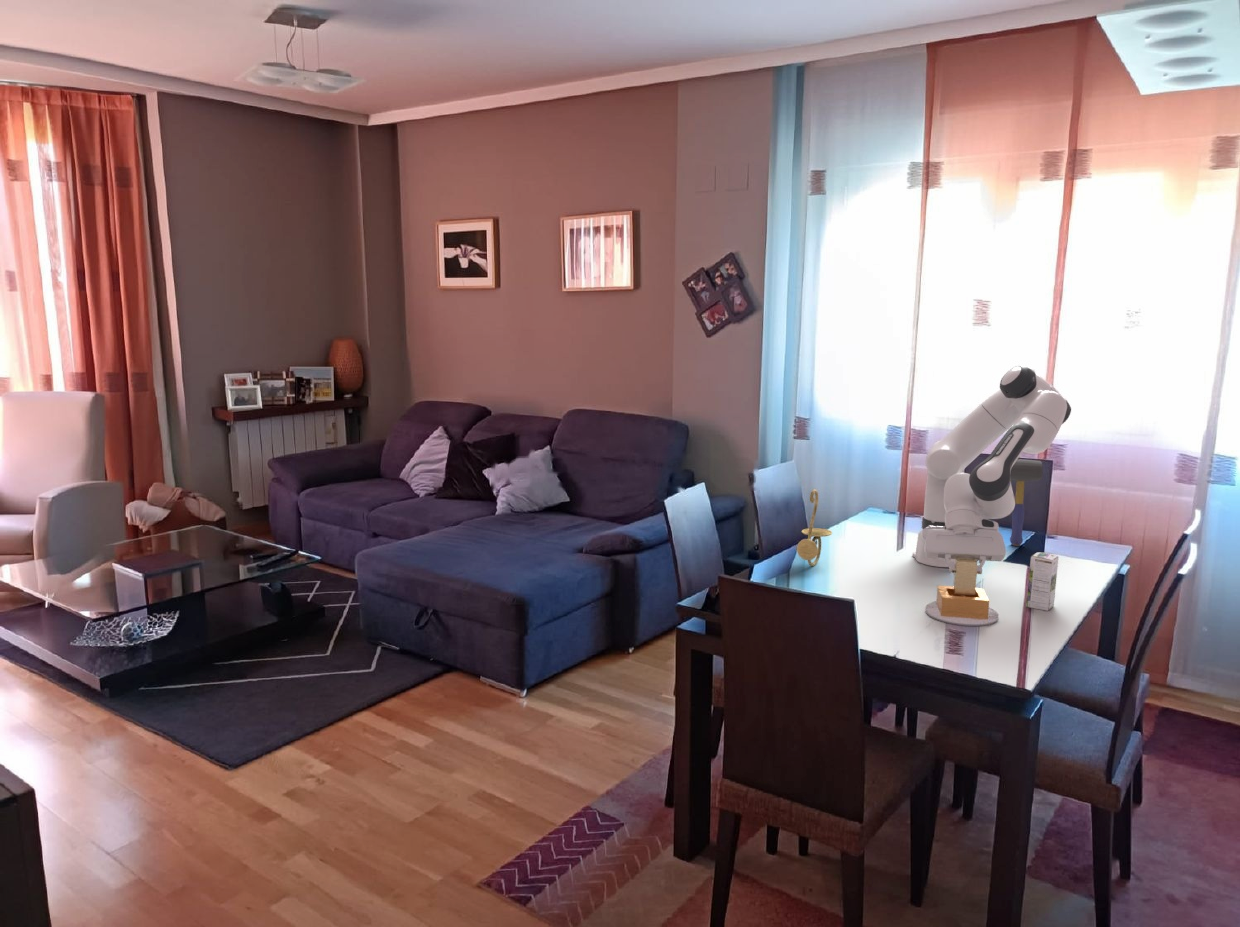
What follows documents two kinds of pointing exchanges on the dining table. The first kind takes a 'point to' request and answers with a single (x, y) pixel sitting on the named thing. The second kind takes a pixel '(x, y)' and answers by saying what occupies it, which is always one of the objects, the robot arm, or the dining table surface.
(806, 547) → the wall sconce
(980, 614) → the socket
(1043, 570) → the syrup box
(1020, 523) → the rubber mallet
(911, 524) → the dining table surface
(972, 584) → the wedge
